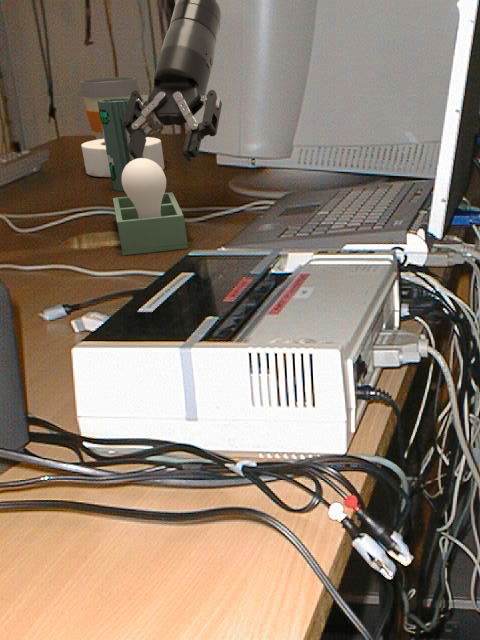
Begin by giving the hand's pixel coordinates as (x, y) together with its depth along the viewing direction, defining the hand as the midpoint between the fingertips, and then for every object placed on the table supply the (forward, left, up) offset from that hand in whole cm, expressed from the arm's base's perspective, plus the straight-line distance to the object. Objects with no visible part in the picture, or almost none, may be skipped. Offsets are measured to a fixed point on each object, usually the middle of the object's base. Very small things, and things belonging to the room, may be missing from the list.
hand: (161, 157), depth 130 cm
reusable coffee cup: (-4, +85, -11) cm, 86 cm away
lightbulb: (-3, -5, -10) cm, 12 cm away
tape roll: (-4, +60, -11) cm, 61 cm away
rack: (-3, -1, -11) cm, 11 cm away
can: (-4, +41, -11) cm, 43 cm away
